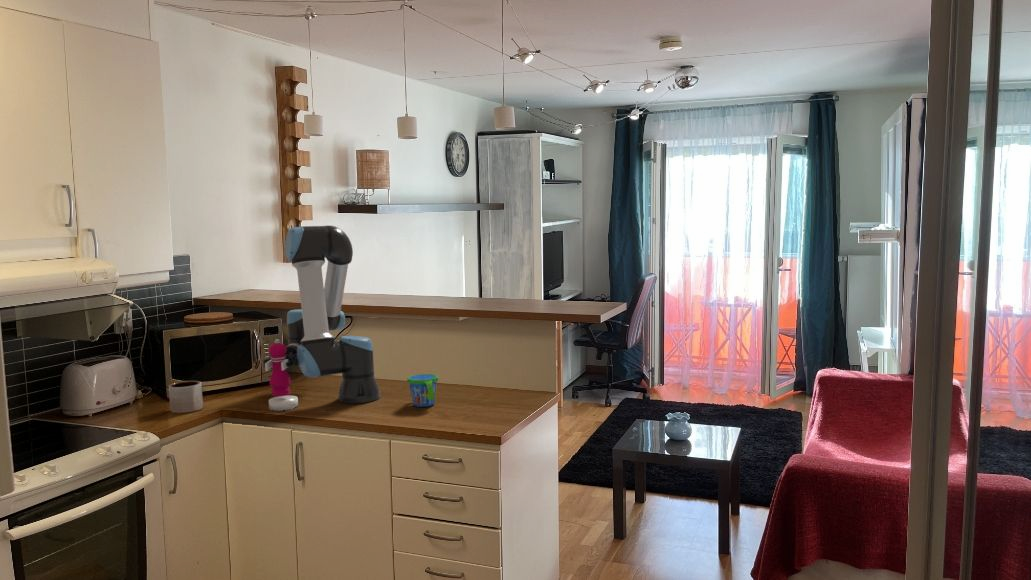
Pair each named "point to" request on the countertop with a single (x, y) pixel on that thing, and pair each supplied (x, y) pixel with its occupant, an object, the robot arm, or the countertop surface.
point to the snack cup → (423, 389)
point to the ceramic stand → (283, 403)
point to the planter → (185, 396)
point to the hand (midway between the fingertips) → (274, 366)
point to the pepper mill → (279, 370)
